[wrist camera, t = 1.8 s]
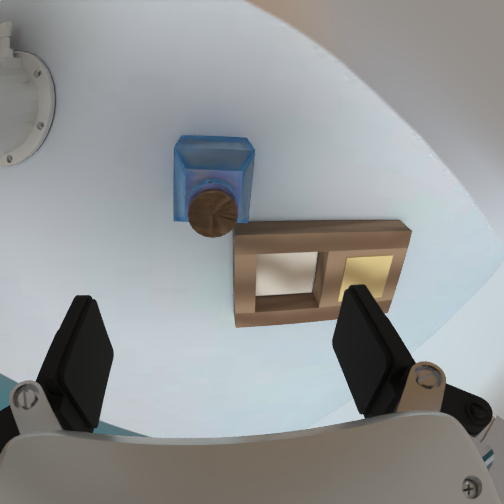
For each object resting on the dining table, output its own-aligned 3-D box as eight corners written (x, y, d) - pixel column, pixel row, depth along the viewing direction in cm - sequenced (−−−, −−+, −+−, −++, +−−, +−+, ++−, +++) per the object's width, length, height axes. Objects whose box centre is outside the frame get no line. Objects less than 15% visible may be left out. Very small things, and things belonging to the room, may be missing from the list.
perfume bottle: (180, 196, 31) (165, 256, 21) (181, 135, 28) (163, 165, 18) (241, 197, 32) (257, 258, 22) (246, 137, 29) (267, 169, 19)
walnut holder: (232, 222, 33) (235, 236, 30) (399, 220, 35) (412, 231, 33) (233, 311, 39) (235, 328, 36) (378, 299, 41) (388, 313, 39)
